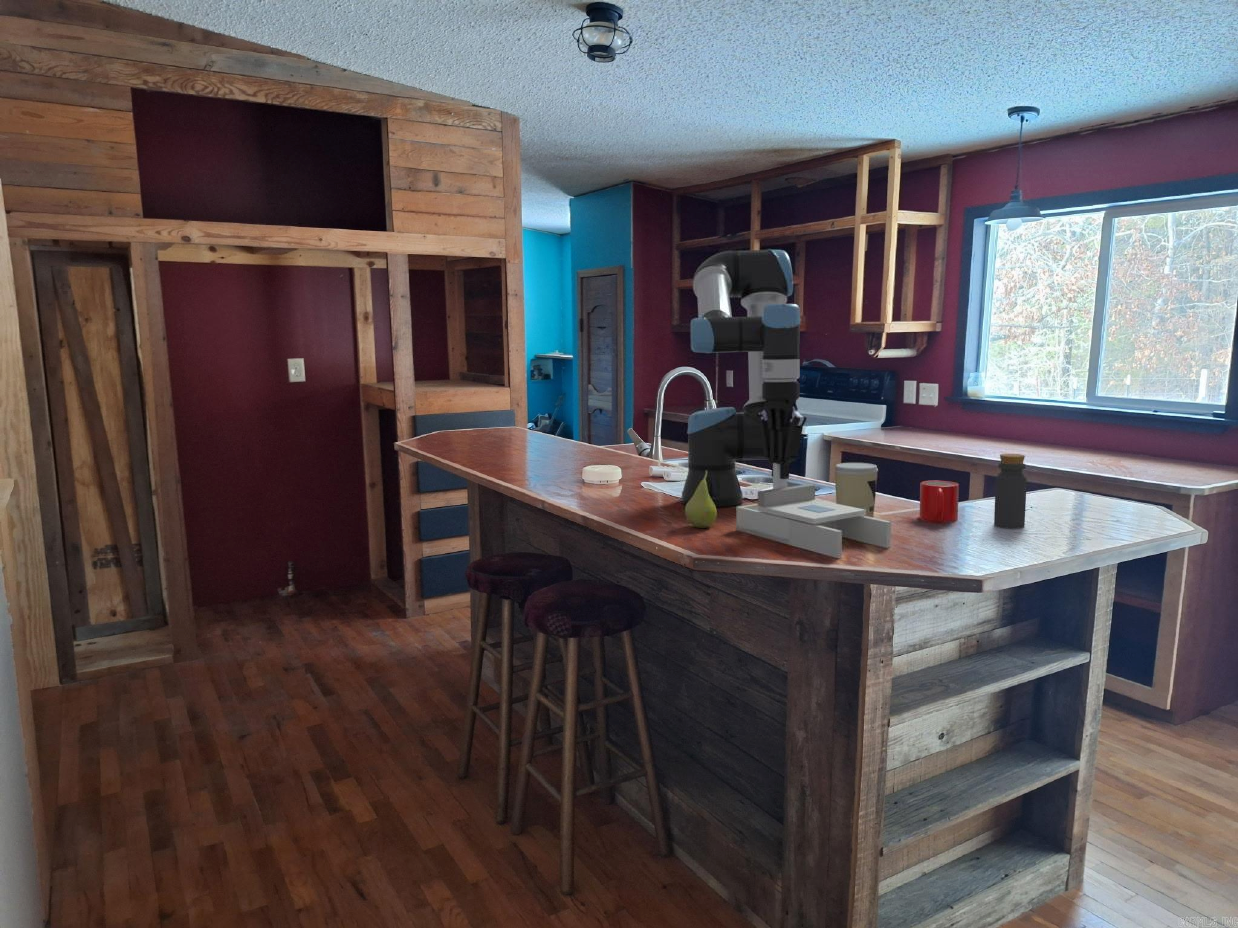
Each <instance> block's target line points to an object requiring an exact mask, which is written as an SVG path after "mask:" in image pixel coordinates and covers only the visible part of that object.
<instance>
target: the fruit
mask: <svg viewBox="0 0 1238 928" xmlns="http://www.w3.org/2000/svg"><path fill="white" fill-rule="evenodd" d="M706 476H707V470H706V471H705V476H704V479H703V480H702V481H701V482H700V484H699V486H698V487H697V489H696V491H695V493H694V495H693V496H692V498H691V499H690V500H689V502H688V503H687V505H686V504H685V508H684V513H685V516H686V519H687V521H688V522H689V523H690V524H691V525H692V526H694V527H695V528H698V529H699V528H700V529H705V528H708V527H710V526H712V525H713V524H714V523H715V521H716V520H717V513H718V512H717V507H715V504H714V503H713V501H712V499H711V498H710V496H709V493H708V489H707V483H706V481H705V479H706Z"/></svg>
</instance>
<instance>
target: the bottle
mask: <svg viewBox="0 0 1238 928" xmlns="http://www.w3.org/2000/svg"><path fill="white" fill-rule="evenodd" d="M1025 457H1026V455H1025V454H1021V453H1019V454H1018V453H1001V454H1000V455H999V459H1000V462H999V463H998V465H997V466H998V469H1000V472H999V473H998V474H996V475H995V492H994V493H995V494H994V513H993V515H994V516H993V523H994V524H993V525H994V526H995V527H998V528H1003V529H1023V528H1025V522H1026V521H1025V520H1026V503H1027V502H1026V501H1027V482H1028V479H1027V478H1028V477H1027V476H1026V474H1024V473H1023V470H1025V469H1026V464H1025V463H1024V460H1025Z"/></svg>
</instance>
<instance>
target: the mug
mask: <svg viewBox="0 0 1238 928" xmlns="http://www.w3.org/2000/svg"><path fill="white" fill-rule="evenodd" d="M959 485H960V484H959V483H957V482H953V481H947V480H925V481H921V482H920V484H919V487H920V489H919V492H920V493H919V520H922V521H925V520H926V521H927V522H931V523H952V522H956V521H958V518H959V517H958V516H959V491H960V490H959V489H960V488H959V487H960V486H959Z"/></svg>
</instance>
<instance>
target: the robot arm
mask: <svg viewBox="0 0 1238 928" xmlns="http://www.w3.org/2000/svg"><path fill="white" fill-rule="evenodd" d="M793 278H794V276H793V269H792V263H791V259H790V256H789V254H788V253H787V252H786V251H785V250H782V249H771V248H767V249H756V250H755V249H754V250H752V249H751V250H750V249H749V250H726V251H722V252H719V253H715V254H713V255H712V256H710V257H709V258H707V259H706V260H705V261H703V262H702V263H701V264H700V265H699V267H698V268H697V269H696V271H695V273H694V275H693V279H692V288H693V293H694V295H695V296H696V298H697V312H698V313H697V316H698V317H695V318H692V319H691V321H690V350H691V351H692V352H694V353H702V354H703V353H705V354H711V353H713V354H714V353H718V354H719V353H744V352H745V353H747V352H748V353H747V354H748V355H747V356H748V357H747V358H748V360H747V361H748V392H749V399H748V400H747V402H745V404H744V405H743V406H742V407H743V408H742V409H743V412H737V410H736V408H735V407H733V406H728V407H717V408H710V409H709V408H708V409H704V410H699V411H696V412H693V413H692V414H690V415H689V417H688V418H687V419H688V420H687V421H688V422H687V431H686V433H687V434H688V435H687V437H688V438H687V439H688V441H687V443H688V445H687V446H688V448H687V450H688V453H687V454H688V455H687V457H688V458H687V459H688V461H687V462H688V463H687V465H688V466H687V467H688V472H687V475H686V479H685V482H684V485H683V490H682V491H681V503H682V504H683V505H685V506H686V505H687V503H688V502H689V500H690V499H691V498H692V496H693V495H694V493H695V491H696V489H697V487H698V486H699V484H700V482H701V481H702V480H703V479H704V476H705V471H706V470H707V476H706V479H705V481H706V483H707V489H708V493H709V496H710V498H711V499H712V501H713V503H714V504H715V507H716V508H724V507H732V506H738V505H741V504H743V502H744V499H743V491H742V489H741V485H740V481H739V479H738V475H737V472H736V471H737V470H736V461H755V460H756V461H759V460H760V461H761V460H762V461H763V460H764V461H765V460H766V461H767V460H768V461H769V462H770V463H771V477H772V489H778V488H785V487H789V485H788V481H789V480H788V479H789V478H790V464H791V462H795V461H797V460H798V455H799V450H800V445H801V440H802V439H801V438H802V433H803V427H804V425H805V423H806V422H807V416H806V415H802V414H801V413H800V412H798V410H799V409H798V405H797V400H799V398H800V383H799V381H797V380H798V379H800V375H801V373H800V365H801V363H800V337H801V335H800V333H801V322H802V321H801V315H800V314H801V312H800V307H799V305H798V304H795V303H787V302H788V298H789V297H790V296H792V294H793V292H794V281H793ZM730 298H740V304H741V305H740V306H742V307H743V308H744V309H746V311H747V313H746V314H747V315H746V316H732V307H731V300H730Z"/></svg>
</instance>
